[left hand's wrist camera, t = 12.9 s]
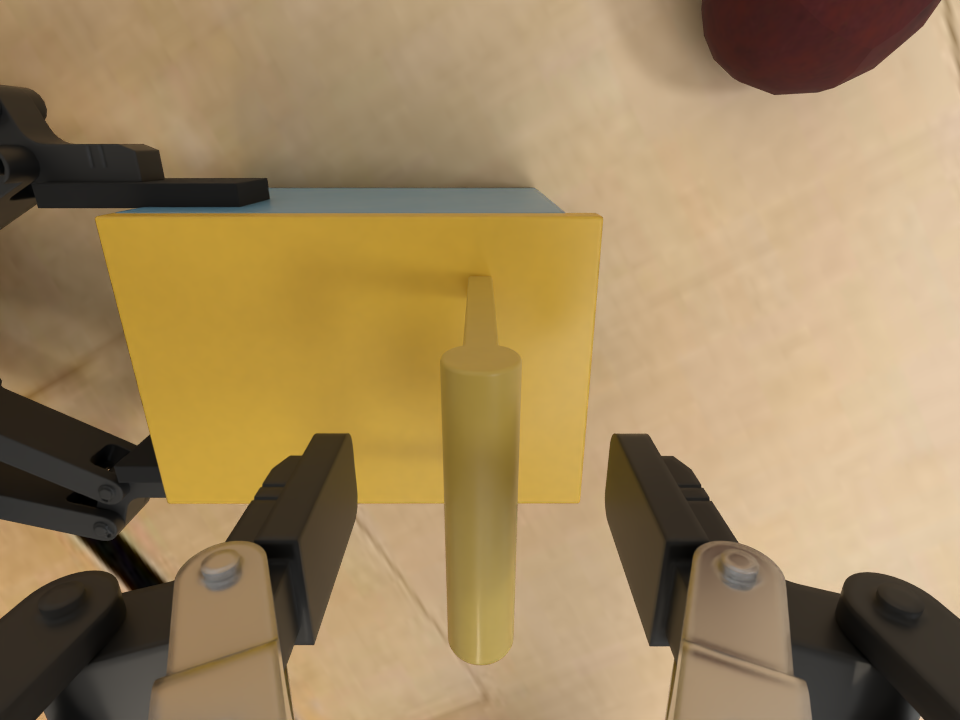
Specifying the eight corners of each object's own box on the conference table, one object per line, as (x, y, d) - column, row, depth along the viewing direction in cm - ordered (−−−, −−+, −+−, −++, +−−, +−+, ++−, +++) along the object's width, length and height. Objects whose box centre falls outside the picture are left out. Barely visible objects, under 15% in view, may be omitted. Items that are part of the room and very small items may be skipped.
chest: (536, 187, 25) (566, 212, 16) (528, 382, 29) (550, 489, 20) (242, 187, 25) (112, 212, 16) (272, 382, 29) (180, 489, 20)
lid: (598, 213, 16) (709, 279, 8) (576, 489, 20) (639, 717, 12) (111, 212, 16) (-235, 279, 8) (179, 490, 20) (-17, 718, 12)
